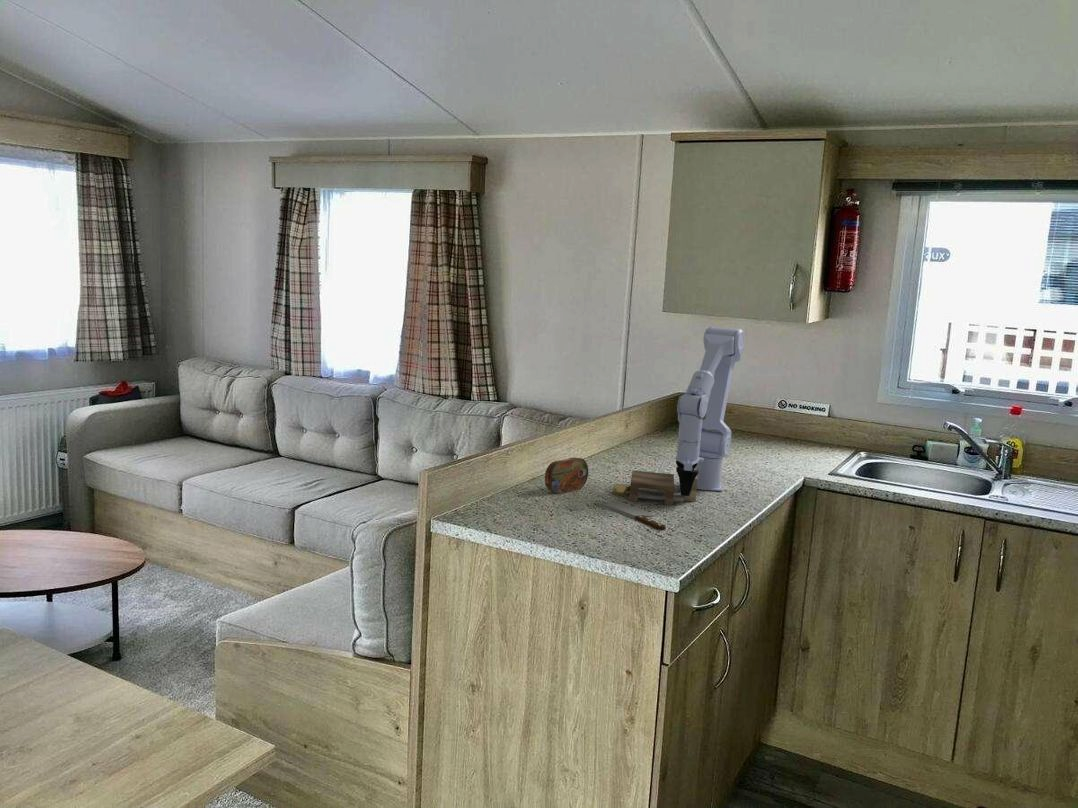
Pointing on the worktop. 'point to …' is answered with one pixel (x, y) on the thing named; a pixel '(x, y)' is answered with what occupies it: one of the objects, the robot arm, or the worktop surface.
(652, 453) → the worktop surface
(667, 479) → the low shelf
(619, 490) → the brass token
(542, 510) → the worktop surface
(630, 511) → the kitchen knife
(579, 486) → the tin
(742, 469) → the worktop surface
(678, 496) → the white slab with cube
